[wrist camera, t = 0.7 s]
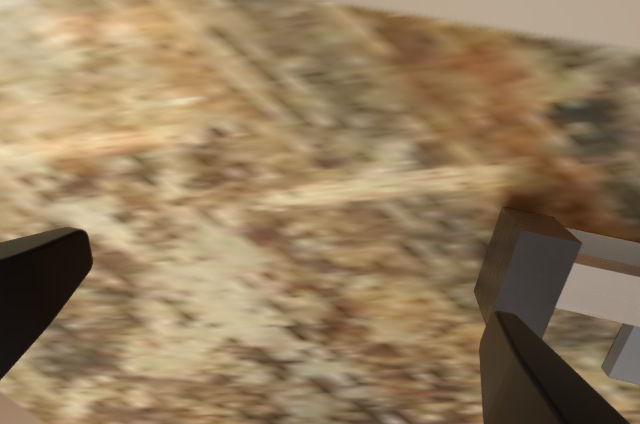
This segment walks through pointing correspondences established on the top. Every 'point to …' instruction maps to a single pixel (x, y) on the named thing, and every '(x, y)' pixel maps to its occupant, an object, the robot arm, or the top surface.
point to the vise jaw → (551, 275)
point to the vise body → (632, 341)
